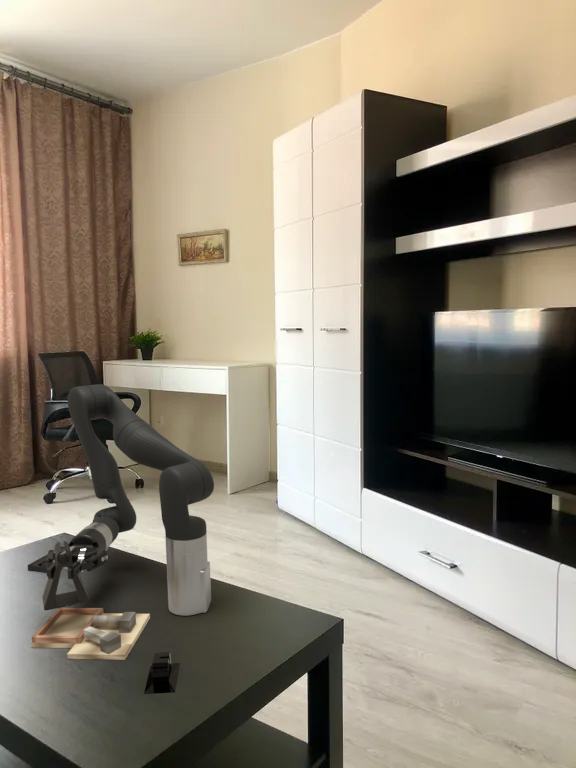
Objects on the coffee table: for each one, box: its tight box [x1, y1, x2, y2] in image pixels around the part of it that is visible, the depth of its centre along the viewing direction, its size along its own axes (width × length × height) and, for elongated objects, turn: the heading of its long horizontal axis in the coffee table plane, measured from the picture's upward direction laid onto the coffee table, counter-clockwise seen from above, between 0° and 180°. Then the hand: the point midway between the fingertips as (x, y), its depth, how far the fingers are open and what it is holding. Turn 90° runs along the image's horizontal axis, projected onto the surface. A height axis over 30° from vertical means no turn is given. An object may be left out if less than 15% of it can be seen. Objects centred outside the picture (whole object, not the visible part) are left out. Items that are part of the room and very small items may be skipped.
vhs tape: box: [27, 546, 65, 574], centre depth 171 cm, size 14×8×2 cm, turn 163°
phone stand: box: [42, 540, 91, 611], centre depth 131 cm, size 9×6×12 cm, turn 114°
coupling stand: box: [30, 607, 151, 661], centre depth 129 cm, size 21×17×4 cm
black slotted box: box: [143, 651, 181, 695], centre depth 113 cm, size 12×7×5 cm, turn 5°
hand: (59, 574), depth 128 cm, fingers closed on phone stand, 3 cm apart
